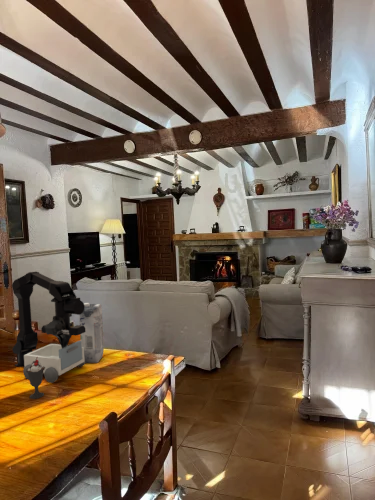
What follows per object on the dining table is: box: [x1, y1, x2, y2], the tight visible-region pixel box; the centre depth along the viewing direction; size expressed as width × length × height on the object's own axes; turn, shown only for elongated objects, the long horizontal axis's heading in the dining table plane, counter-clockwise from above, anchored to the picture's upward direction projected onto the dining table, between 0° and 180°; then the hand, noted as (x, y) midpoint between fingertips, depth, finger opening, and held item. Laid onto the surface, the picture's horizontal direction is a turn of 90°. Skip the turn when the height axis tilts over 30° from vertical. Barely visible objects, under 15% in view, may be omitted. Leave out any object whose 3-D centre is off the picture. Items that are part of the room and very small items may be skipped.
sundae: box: [26, 357, 45, 400], centre depth 132 cm, size 7×7×15 cm
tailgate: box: [59, 340, 82, 370], centre depth 150 cm, size 2×13×8 cm, turn 159°
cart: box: [23, 343, 86, 384], centre depth 154 cm, size 18×18×10 cm
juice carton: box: [79, 302, 104, 364], centre depth 168 cm, size 9×10×27 cm
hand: (64, 349), depth 151 cm, fingers closed
